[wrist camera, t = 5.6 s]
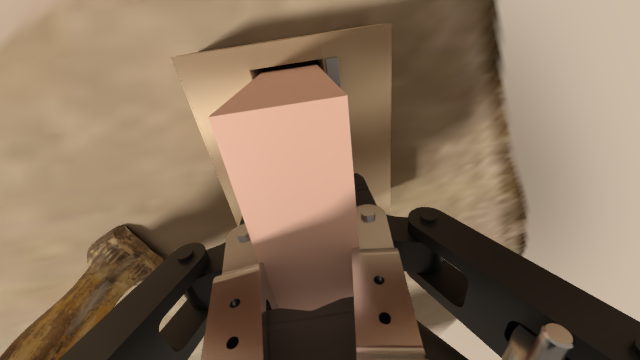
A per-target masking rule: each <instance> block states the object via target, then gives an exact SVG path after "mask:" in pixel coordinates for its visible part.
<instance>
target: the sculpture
mask: <svg viewBox="0 0 640 360" xmlns="http://www.w3.org/2000/svg"><path fill="white" fill-rule="evenodd" d="M87 260H88V265H89V268H88V269H87V271H86V272H85V273H84V274H83V276H82V277H81V278H80V279H79V280H78V282H77V283H76V284H75V285H74V286H73V288H72V289H71V290H70V291H69V292H68V293H67V294H66V295H65V296H64V297H62V298H61V299H60V300H59V301H58V302H57V303H55V304H54V305H53V306H52V307H51V308H50V309H49V310H47V311H46V312H45V313H44V314H43V315H42V316H41V317H39V318H38V319H37V320H36V321H35V322H34V323H33V324H31V325H30V326H29V327H28V328H27V329H26V330H25V331H24V332H23V333H22V334H21V335H20V336H19V337H18V338H17V339H16V340H15V341H14V342H13V343H12V344H11V345H10V346H9V347H8V348H7V350H6V351H5V352H4V353H3V354H2V355H1V357H0V360H58V359H59V358H60V357H61V356H62V355H64V354H65V353H66V352H67V351H68V350H69V349H70V348H71V347H72V346H73V345H74V344H75V343H76V342H78V341H79V340H80V339H81V338H82V337H83V336H84V335H85V334H86V333H87V332H88V331H89V330H90V329H91V328H93V327H94V326H95V325H96V324H97V323H98V322H99V321H100V320H101V319H102V318H103V317H104V316H105V315H107V314H108V313H109V312H110V311H111V310H112V309H113V308H114V306H115V305H116V303H117V302H118V300H119V299H120V298H121V297H122V296H123V294H124V293H125V292H126V291H127V290H128V289H129V288H131V287H132V286H135V285H138V284H140V283H141V282H142V281H143V280H144V279H145V278H146V277H147V276H148V275H149V274H151V273H152V272H153V271H154V270H155V269H156V268H157V267H158V266H159V265H160V264H161V263H162V262H163V261H164V260H163V258H162V257H160V256H159V255H157V254H155V253H154V252H152V251H151V250H150V248H149V247H148V246H147V245H146V244H144V243H143V242H142V241H141V240H140V239H139V238H137V237H136V236H135V235H134V234H132V233H131V232H130V231H129V229H128V228H127V227H126V226H125V225H124V226H119V227H116V228H114V229H113V230H111V231H110V232H108V233H107V234H106V235H104V236H103V237H101V238H100V239H98V240H97V241H96V242H95V243H94V244H92V245H91V247H90V248H89V249H88V251H87Z"/></svg>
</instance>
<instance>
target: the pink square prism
mask: <svg viewBox="0 0 640 360" xmlns="http://www.w3.org/2000/svg"><path fill="white" fill-rule="evenodd" d="M208 119H209V122H210V125H211V127H212V130H213V133H214V136H215V139H216V142H217V145H218V147H219V150H220V153H221V156H222V159H223V162H224V165H225V167H226V170H227V173H228V176H229V179H230V182H231V185H232V188H233V190H234V193H235V196H236V199H237V202H238V205H239V208H240V210H241V213H242V216H243V219H244V222H245V225H246V228H247V231H248V233H249V236H250V239H251V242H252V245H253V248H254V251H255V253H256V256H257V259H258V262H259V263H264V266H265V269H266V271H267V277H268V282H269V286H270V289H271V291H272V294H273V297H274V300H275V303H276V304H278V306H279V308H285V309H296V310H306V311H312V310H315V309H318V308H320V307H322V306H325V305H327V304H330V303H332V302H334V301H337V300H339V299H341V298H346V297H352V296H354V291H353V271H352V248H355V247H359V235H358V222H357V210H356V197H355V185H354V172H353V159H352V147H351V134H350V122H349V109H348V97H347V95H346V94H345V93H344V91H343V90H342V89H341V88H340V87H339V86H338V85H337V84H336V83H335V82H334V81H333V80H332V79H331V78H330V77H329V76H328V75H327V74H326V73H325V72H324V71H323V70H322V69H321V68H320V67H319V66H318V65H317V64H314V65H308V66H301V67H295V68H288V69H282V70H275V71H269V72H262V73H261V74H259V75H258V76H257V77H256V78H255V79H253V80H252V81H251V82H250V83H248V84H247V85H246V86H245V87H244V88H242V89H241V90H240V91H239V92H238V93H236V94H235V95H234V96H233V97H232V98H230V99H229V100H228V101H227V102H226V103H224V104H223V105H222V106H221V107H220V108H218V109H217V110H216V111H215V112H214V113H212V114H211V115H210V116H209V117H208Z"/></svg>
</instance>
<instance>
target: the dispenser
mask: <svg viewBox="0 0 640 360" xmlns="http://www.w3.org/2000/svg"><path fill="white" fill-rule="evenodd" d="M171 59H172V62H173V64H174V67H175V69H176V72H177V74H178V77H179V79H180V82H181V84H182V87H183V89H184V92H185V94H186V97H187V100H188V102H189V105H190V107H191V110H192V112H193V115H194V117H195V120H196V122H197V125H198V127H199V130H200V132H201V135H202V138H203V140H204V143H205V145H206V148H207V150H208V153H209V155H210V158H211V160H212V163H213V165H214V168H215V170H216V173H217V175H218V178H219V181H220V183H221V186H222V188H223V191H224V193H225V196H226V198H227V201H228V203H229V206H230V208H231V211H232V213H233V216H234V218H235V221H236V224H237V226H239V225H240V221H241V218H242V213H241V210H240V208H239V205H238V202H237V199H236V196H235V193H234V190H233V188H232V185H231V182H230V179H229V176H228V173H227V170H226V167H225V165H224V162H223V159H222V156H221V153H220V150H219V147H218V145H217V142H216V139H215V136H214V133H213V130H212V127H211V125H210V122H209V119H208V117H209V116H210V115H211V114H212V113H214V112H215V111H216V110H217V109H218V108H220V107H221V106H222V105H223V104H224V103H226V102H227V101H228V100H229V99H230V98H232V97H233V96H234V95H235V94H236V93H238V92H239V91H240V90H241V89H242V88H244V87H245V86H246V85H247V84H248V83H250V82H251V81H252V80H253V79H255V78H256V77H257V76H258V75H259V74H261V73H262V72H261V68H267V67H273V66H279V65H286V64H292V63H298V62H305V61H311V60H317V59H318V65H319V67H320V68H321V69H322V70H323V71H324V72H325V73H326V74H327V75H328V76H329V77H330V78H331V79H332V80H333V81H334V82H335V83H336V84H337V85H338V86H339V87H340V88H341V89H342V90H343V91H344V93H345V94H346V95H347V97H348V109H349V122H350V134H351V147H352V159H353V172H354V173H358V174H359V175H361V176H362V177H364V179H365V181H366V184H367V186H368V188H369V190H370V192H371V194H372V196H373V198H374V200H375V203H376V205H377V206H379V207H381V208H382V209H383V210H384V211H385V213H386V214H387V215H390V188H391V79H392V23H384V24H373V25H366V26H360V27H353V28H347V29H341V30H334V31H328V32H322V33H315V34H309V35H303V36H296V37H290V38H284V39H277V40H271V41H265V42H258V43H252V44H246V45H239V46H233V47H226V48H220V49H214V50H207V51H201V52H196V53H191V54H186V55H181V56H176V57H172V58H171Z"/></svg>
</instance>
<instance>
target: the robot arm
mask: <svg viewBox="0 0 640 360" xmlns="http://www.w3.org/2000/svg"><path fill="white" fill-rule="evenodd" d="M354 185H355V197H356V210H357V222H358V235H359V247H355V248H352V271H353V291H354V296H352V297H346V298H341V299H339V300H337V301H334V302H332V303H330V304H327V305H325V306H322V307H320V308H318V309H315V310H312V311H306V310H296V309H285V308H279V306H278V304H276V303H275V300H274V297H273V294H272V291H271V289H270V286H269V282H268V277H267V271H266V269H265V266H264V263H259V262H258V259H257V256H256V253H255V251H254V248H253V245H252V242H251V239H250V236H249V233H248V231H247V228H246V225H245V222H244V219H243V216H242V218H241V221H240V225H239V226H237V227H236V228H234V229H233V230H232V231H230V233H229V234H228V235H227V238H226V242H225V243H223V244H221V245H219V246H216V247H213V248H211V249H208V250H206V249H205V247H204V245H202V244H200V243H191V244H187V245H184V246H182V247H180V248H179V249H177V250H176V251H174V252H173V253H172V254H171V255H170V256H169V257H168V258H167V259H166V260H164V261H163V262H162V263H161V264H160V265H159V266H158V267H157V268H156V269H155V270H154V271H153V272H152V273H151V274H149V275H148V276H147V277H146V278H145V279H144V280H143V281H142V282H141V283H140V284H139V285H138V286H137V287H136V288H134V289H133V290H132V291H131V292H130V293H129V294H128V295H127V296H126V297H125V298H124V299H123V300H122V301H120V302H119V303H118V304H117V305H116V306H115V307H114V308H113V309H112V310H111V311H110V312H109V313H108V314H107V315H105V316H104V317H103V318H102V319H101V320H100V321H99V322H98V323H97V324H96V325H95V326H94V327H93V328H91V329H90V330H89V331H88V332H87V333H86V334H85V335H84V336H83V337H82V338H81V339H80V340H79V341H78V342H76V343H75V344H74V345H73V346H72V347H71V348H70V349H69V350H68V351H67V352H66V353H65V354H64V355H62V356H61V357H60V358H59V359H58V360H188V358H189V357H190V355H191V354H192V352H193V351H194V350H195V348H196V347H197V345H198V344H199V342H200V341H201V340H202V338H203V337H204V342H203V348H202V355H201V360H468V359H467V358H466V357H464V356H463V355H462V354H460V353H459V352H458V351H456V350H455V349H454V348H453V347H451V346H450V345H449V344H447V343H446V342H445V341H443V340H442V339H441V338H439V337H438V336H437V335H435V334H434V333H433V332H432V331H430V330H429V329H428V328H426V327H425V326H424V325H422V324H421V323H420V322H418V321H417V320H416V317H415V313H414V309H413V305H412V301H411V297H410V293H409V290H408V286H407V282H406V278H405V274H404V271H407V273H408V275H409V276H410V277H411V278H412V279H413V280H414V281H416V282H417V283H418V284H419V285H420V286H421V287H422V288H423V289H425V290H426V291H427V292H428V293H429V294H430V295H431V296H432V297H434V298H435V299H436V300H437V301H438V302H439V303H440V304H441V305H443V306H444V307H445V308H446V309H447V310H448V311H449V312H450V313H452V314H453V315H454V316H455V317H456V318H457V319H458V320H459V321H461V322H462V323H463V324H464V325H465V326H466V327H467V328H468V329H470V330H471V331H472V332H473V333H474V334H475V335H476V336H478V337H479V338H480V339H481V340H482V341H483V342H484V343H485V344H486V345H488V346H489V347H490V348H491V349H492V350H493V351H494V352H496V353H497V354H498V355H499V356H500V357H501V358H502V360H640V322H639V321H637V320H635V319H633V318H632V317H630V316H628V315H626V314H624V313H622V312H621V311H619V310H617V309H615V308H614V307H612V306H610V305H608V304H606V303H605V302H603V301H601V300H599V299H597V298H596V297H594V296H592V295H590V294H588V293H587V292H585V291H583V290H581V289H580V288H578V287H576V286H574V285H572V284H570V283H569V282H567V281H565V280H563V279H562V278H560V277H558V276H556V275H554V274H552V273H551V272H549V271H547V270H545V269H544V268H542V267H540V266H538V265H536V264H535V263H533V262H531V261H529V260H527V259H526V258H524V257H522V256H520V255H519V254H517V253H515V252H513V251H511V250H510V249H508V248H506V247H504V246H502V245H501V244H499V243H497V242H495V241H493V240H492V239H490V238H488V237H486V236H484V235H483V234H481V233H479V232H477V231H475V230H474V229H472V228H470V227H468V226H467V225H465V224H463V223H461V222H459V221H458V220H456V219H454V218H452V217H450V216H449V215H447V214H445V213H443V212H441V211H439V210H437V209H434V208H429V207H421V208H416V209H414V210H412V211H411V212H410V213H409V216H408V218H407V217H394V216H390V215H387V214H386V213H385V211H384V210H383V209H382V208H381V207H379V206H377V205H376V203H375V200H374V198H373V196H372V194H371V192H370V190H369V188H368V186H367V184H366V181H365V179H364V177H362V176H361V175H359V174H358V173H354ZM444 259H445V260H446V261H445V260H444ZM447 261H448V262H449V263H448V262H447ZM451 264H452V265H453V266H452V265H451ZM455 267H456V268H457V269H456V268H455ZM458 269H459V270H460V271H459V270H458ZM183 294H184V295H185V297H186V298H187V301H186V302H185V303H184V304H183V305H182V307H181V308H180V309H179V310H178V311H177V313H176V314H175V315H174V316H173V317H172V318H171V320H170V321H169V322H168V323H167V324H166V326H165V327H164V328H163V329H162V330H161V331H160V333H159V325H160V322H161V320H162V319H163V317H164V316H165V315H166V314H167V313H168V312H169V310H170V309H171V308H172V307H173V306H174V305H175V304H176V302H177V301H178V300H179V299H180V298H181V297H182V296H183ZM204 335H205V336H204Z"/></svg>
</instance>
